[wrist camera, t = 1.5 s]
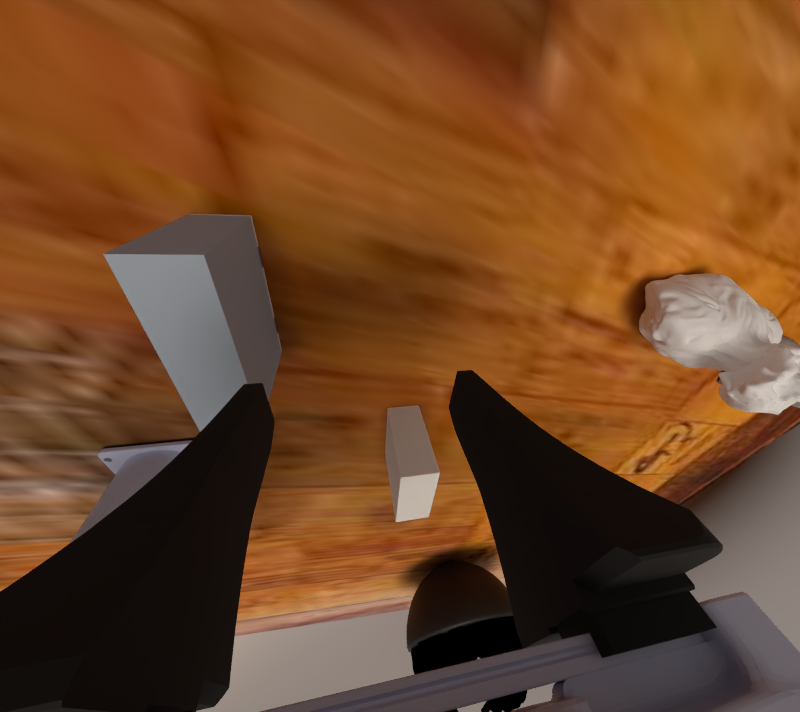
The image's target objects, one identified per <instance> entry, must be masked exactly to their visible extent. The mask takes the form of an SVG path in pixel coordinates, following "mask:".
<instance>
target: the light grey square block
mask: <svg viewBox="0 0 800 712" xmlns="http://www.w3.org/2000/svg"><path fill="white" fill-rule="evenodd" d="M385 456H386V462H387V469H388V475H389V482H390V488H391V495H392V501H393V508H394V514H395V521H396V522H400V521H406V520H412V519H418V518H425V517H429V514H430V510H431V506H432V502H433V498H434V494H435V490H436V486H437V482H438V478H439V474H440V471H439V468H438V465H437V462H436V458H435V455H434V452H433V449H432V446H431V442H430V439H429V436H428V433H427V430H426V426H425V423H424V420H423V417H422V414H421V410H420V407H419V405H416V406H405V407H393V408H387V426H386V447H385Z"/></svg>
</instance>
